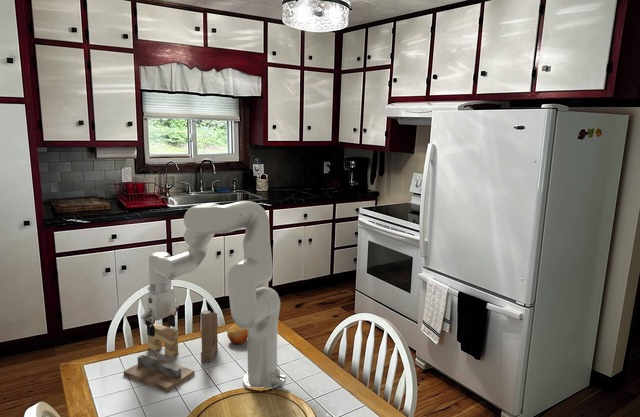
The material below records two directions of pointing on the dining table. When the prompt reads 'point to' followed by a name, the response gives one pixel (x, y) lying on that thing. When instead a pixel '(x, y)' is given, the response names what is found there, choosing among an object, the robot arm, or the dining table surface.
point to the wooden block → (208, 335)
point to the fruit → (237, 334)
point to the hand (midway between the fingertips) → (161, 330)
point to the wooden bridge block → (164, 339)
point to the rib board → (158, 373)
